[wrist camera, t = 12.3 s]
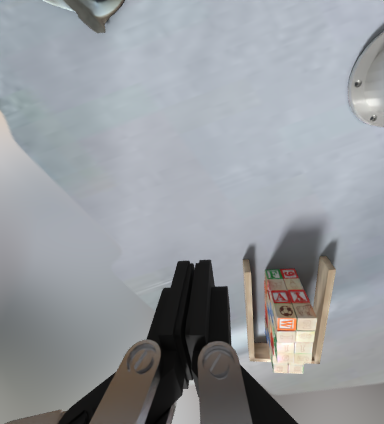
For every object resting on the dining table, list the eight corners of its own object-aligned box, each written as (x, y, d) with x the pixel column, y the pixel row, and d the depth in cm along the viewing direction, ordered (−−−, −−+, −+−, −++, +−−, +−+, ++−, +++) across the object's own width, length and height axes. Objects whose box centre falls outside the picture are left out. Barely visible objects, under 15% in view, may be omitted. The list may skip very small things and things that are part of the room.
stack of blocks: (290, 333, 54) (308, 391, 43) (264, 333, 55) (275, 389, 44) (294, 267, 45) (318, 319, 34) (264, 268, 46) (277, 319, 35)
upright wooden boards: (326, 256, 43) (335, 269, 39) (313, 347, 55) (319, 363, 51) (242, 259, 45) (244, 272, 42) (248, 345, 58) (249, 361, 54)
